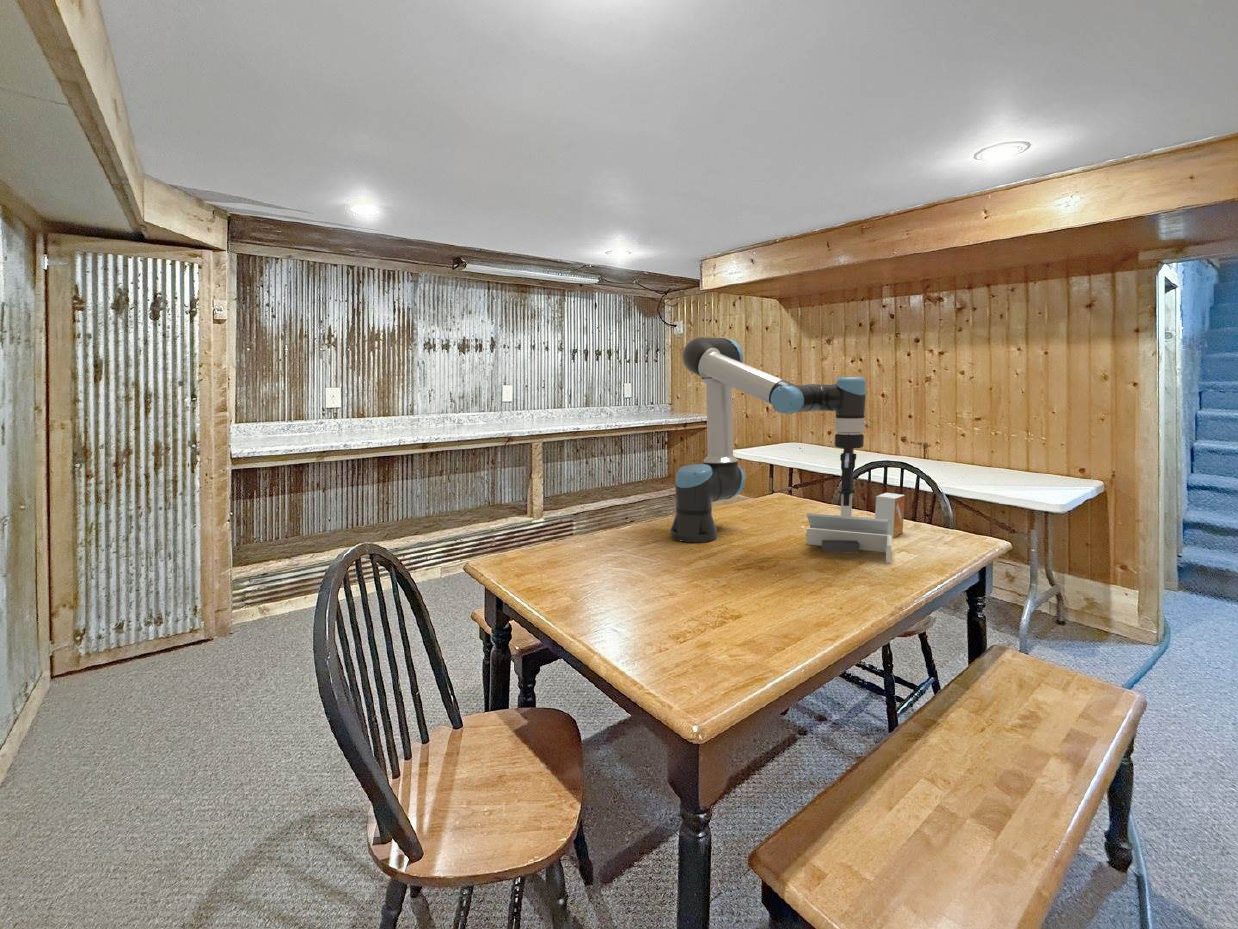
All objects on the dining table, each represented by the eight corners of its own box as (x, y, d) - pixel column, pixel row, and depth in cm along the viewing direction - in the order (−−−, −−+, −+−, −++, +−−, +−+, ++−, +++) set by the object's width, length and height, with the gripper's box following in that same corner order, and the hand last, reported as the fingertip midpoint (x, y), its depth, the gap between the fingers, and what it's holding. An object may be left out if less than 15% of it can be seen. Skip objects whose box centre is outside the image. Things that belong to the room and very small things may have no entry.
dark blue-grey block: (823, 552, 174) (824, 543, 174) (821, 549, 178) (821, 539, 177) (859, 553, 173) (859, 543, 173) (856, 550, 176) (856, 540, 176)
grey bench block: (800, 553, 173) (801, 537, 172) (807, 541, 186) (808, 525, 185) (890, 563, 163) (891, 545, 162) (891, 549, 176) (891, 533, 175)
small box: (893, 538, 188) (895, 498, 186) (873, 534, 192) (875, 495, 190) (903, 533, 193) (905, 494, 191) (883, 530, 198) (885, 492, 196)
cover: (805, 517, 171) (806, 513, 172) (810, 528, 182) (810, 524, 182) (888, 523, 162) (888, 519, 162) (888, 535, 172) (888, 531, 173)
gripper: (862, 435, 155) (858, 522, 159) (865, 431, 167) (861, 512, 170) (832, 435, 158) (829, 520, 162) (837, 430, 170) (834, 510, 173)
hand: (846, 516), depth 166 cm, fingers closed
